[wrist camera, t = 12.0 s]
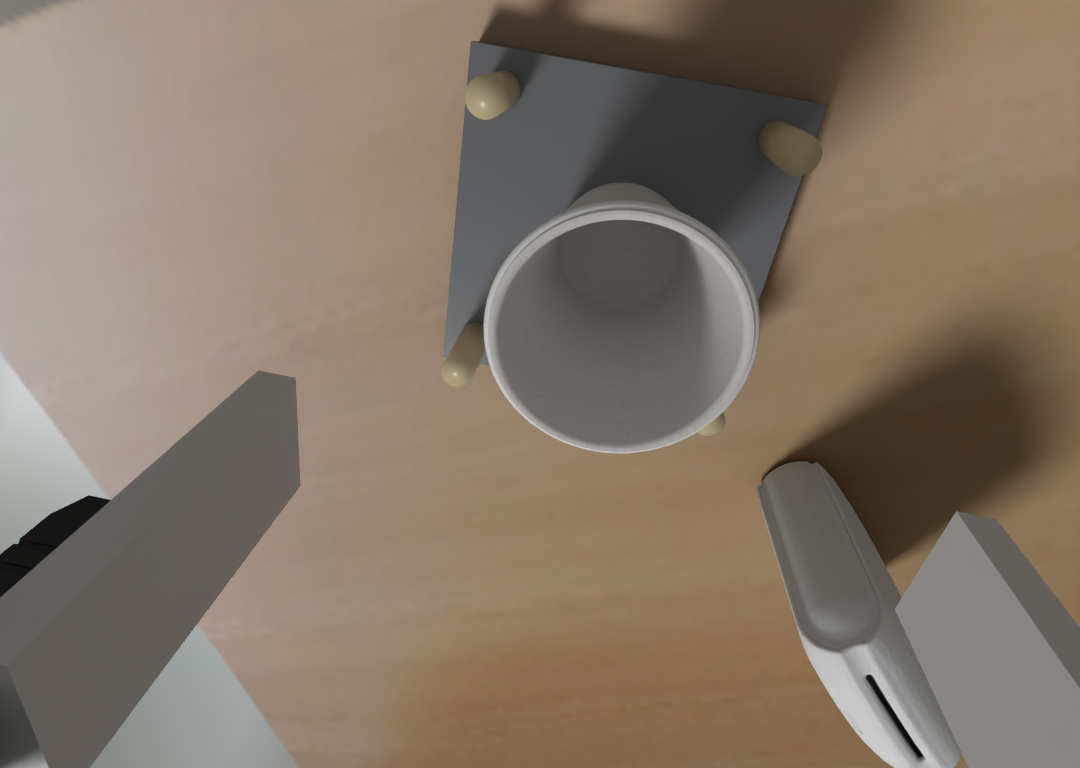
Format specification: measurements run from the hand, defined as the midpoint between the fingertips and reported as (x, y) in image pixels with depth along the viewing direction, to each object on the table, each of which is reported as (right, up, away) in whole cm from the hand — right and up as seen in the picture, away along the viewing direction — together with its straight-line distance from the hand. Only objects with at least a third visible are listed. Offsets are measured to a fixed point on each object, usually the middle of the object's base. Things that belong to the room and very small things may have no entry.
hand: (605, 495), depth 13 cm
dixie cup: (+2, +8, +15) cm, 17 cm away
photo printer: (+15, -6, +23) cm, 28 cm away
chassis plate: (+2, +9, +16) cm, 19 cm away
